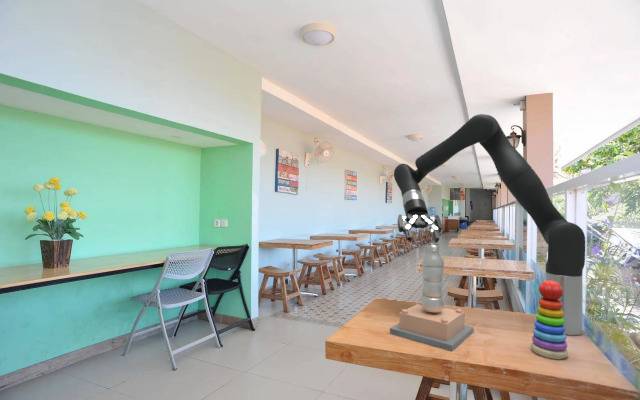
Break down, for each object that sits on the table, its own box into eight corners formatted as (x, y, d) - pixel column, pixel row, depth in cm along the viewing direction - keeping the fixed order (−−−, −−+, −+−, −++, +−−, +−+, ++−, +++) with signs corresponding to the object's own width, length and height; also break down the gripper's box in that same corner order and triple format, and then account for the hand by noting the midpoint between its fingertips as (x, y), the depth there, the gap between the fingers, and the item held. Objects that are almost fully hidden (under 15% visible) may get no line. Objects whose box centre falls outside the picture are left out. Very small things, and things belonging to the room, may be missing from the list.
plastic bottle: (416, 311, 100) (417, 244, 101) (428, 307, 105) (429, 242, 105) (436, 317, 96) (437, 246, 96) (448, 312, 100) (448, 245, 100)
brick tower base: (416, 318, 113) (416, 297, 113) (473, 332, 101) (473, 309, 101) (389, 333, 99) (390, 310, 99) (452, 351, 87) (452, 324, 87)
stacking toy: (527, 352, 87) (527, 279, 87) (535, 344, 93) (535, 275, 93) (564, 363, 81) (564, 285, 82) (570, 353, 87) (570, 280, 87)
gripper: (396, 197, 118) (403, 232, 107) (436, 198, 118) (448, 233, 107) (392, 212, 124) (399, 247, 112) (431, 212, 124) (442, 248, 112)
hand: (423, 240), depth 109 cm, fingers open, 8 cm apart
